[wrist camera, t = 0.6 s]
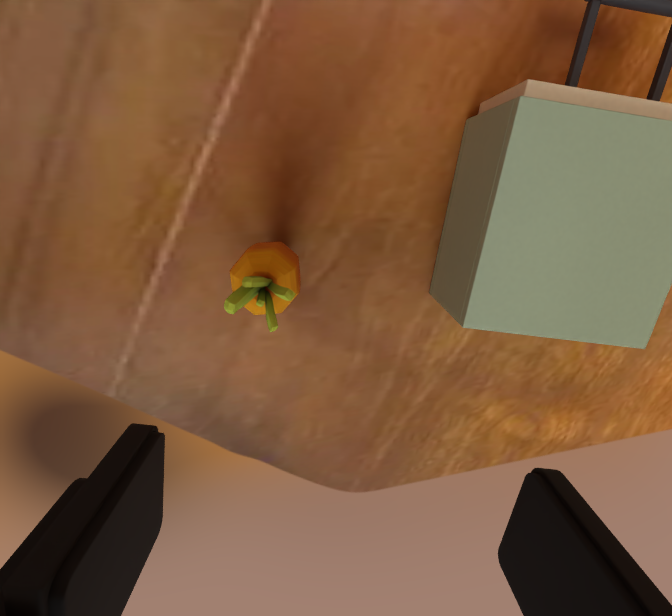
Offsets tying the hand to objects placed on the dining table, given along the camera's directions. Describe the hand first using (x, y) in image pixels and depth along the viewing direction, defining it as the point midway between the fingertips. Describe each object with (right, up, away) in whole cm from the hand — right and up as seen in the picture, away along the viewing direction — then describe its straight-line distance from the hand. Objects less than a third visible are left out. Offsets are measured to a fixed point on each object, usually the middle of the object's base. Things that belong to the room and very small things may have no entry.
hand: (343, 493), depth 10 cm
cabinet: (+17, +13, +26) cm, 34 cm away
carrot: (-5, +10, +27) cm, 29 cm away
